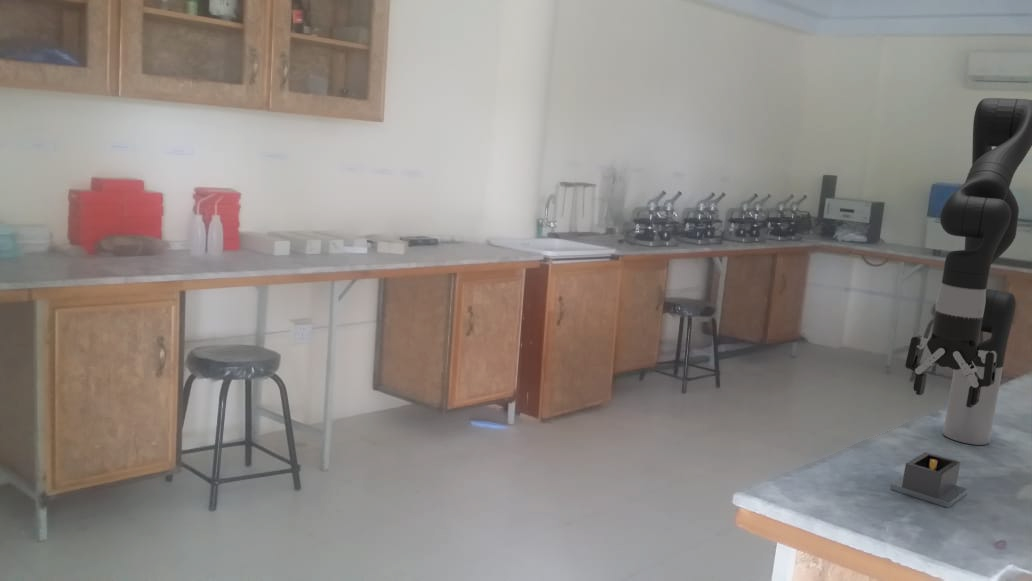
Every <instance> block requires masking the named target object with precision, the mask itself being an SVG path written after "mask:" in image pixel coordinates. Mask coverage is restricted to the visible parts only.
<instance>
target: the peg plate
mask: <svg viewBox="0 0 1032 581" xmlns="http://www.w3.org/2000/svg"><path fill="white" fill-rule="evenodd" d="M936 467H937V460H935V459H930V464H929V469H932V470H935V471H936ZM903 477H904V475H902V477H900V478H898V479H897V480H895V481H894V482H892V483H891V484H890V488H889V489H890V490H891V491H895V492H898V493H901V494H904V495H907V496H910V497H913V498H917V499H920V500H923V501H926V502H929V503H932V504H935V505H938V506H942V507H944V508H947V509H949V508H950V507H952V505H954V504H955V503H957V502H958V501H960V500H961V499H963V497H965V496H966V495H967V493H968V488H966V487H962V486H959V485H956V486H955V487H954V488H952V489H951V490H949V491H948V492H947V493H945V494H944V495H943V496H941V497H940V498H938V499H937V498H934V497H930V496H927V495H924V494H921V493H918V492H915V491H912V490H908V489H905V488H902V483H903Z"/></svg>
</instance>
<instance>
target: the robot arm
mask: <svg viewBox="0 0 1032 581" xmlns="http://www.w3.org/2000/svg"><path fill="white" fill-rule="evenodd" d="M973 116H974V117H973V122H972V123H973V125H972V151H971V152H972V153H971V154H972V156H971V158H972V160H971V167H970V170H969V172H968V174H967V176H966V179H965V182H964V183H963V184H962V185H961V186H960V187H959V188H958V189H957V190H956V191H954V192H953V193H952V194H951V195H950V196H949V198H947V200H946V201H945V203H944V204H943V206H942V209H941V212H940V218H939V221H940V225H941V228H942V229H943V231H944V232H946V233H947V234H949V235H951V236H955V237H962V238H964V240H965V241H964V249H963V250H961V249H960V250H952V251H950V252H948V253H947V255H946V257H945V261H944V265H943V266H944V267H943V274H942V277H941V278H942V279H941V283H940V284H941V285H940V288H939V291H938V294H937V297H936V298H937V299H936V302H935V310H934V317H933V322H932V323H933V324H932V327H931V328H932V329H931V335H930V338H925V337H923V336H921V335H914V336H912V337H911V338H910V343H909V347H908V351H907V352H908V353H907V356H906V361H905V363H904V366H905V368H906V369H908V370H911V371H913V372H914V373H915V377H914V381H913V382H914V383H913V391H914V392H915V394H916V395H917V396H922V395H924V393H925V388H926V383H927V382H926V381H927V377H928V374H927V373H926V372H927V371H929V370H930V369H931V368H932V367H933V366H935V365H936V364H937V365H938V366H939V367H942V368H949V369H951V370H953V373H952V378H951V385H950V389H949V390H950V391H949V396H948V402H947V408H946V413H945V420H944V425H943V431H942V434H943V435H944V436H945V437H947V438H948V439H951V440H953V441H956V442H959V443H965V444H968V445H969V444H970V445H977V446H978V445H979V446H985V445H988V444H989V443H990V440H991V434H992V429H993V424H994V419H995V412H996V408H997V402H998V398H999V397H998V396H999V391H1000V386H1001V385H1000V384H1001V380H1002V374H1003V368H1004V363H1005V359H1006V358H1005V357H1006V352H1007V347H1008V346H1007V345H1008V340H1009V337H1010V331H1011V328H1012V324H1013V320H1014V316H1015V312H1016V305H1017V303H1016V297H1015V295H1014V294H1013V293H1012V292H1008V291H1006V290H1004V291H1003V290H997V289H990V288H988V280H989V274H990V270H991V265H992V264H993V263H995V261H996V260H998V259H999V258H1000V257H1001V256H1002V255H1003V254H1004V253H1005V252H1006V251H1007V250H1008V249H1009V247H1010V246H1011V245H1012V243H1014V241H1015V239H1016V236H1017V227H1018V220H1019V212H1020V211H1019V204H1018V202H1017V199H1016V197H1015V195H1014V194H1013V191H1012V190H1011V189H1010V188H1011V183H1012V180H1013V178H1014V175H1015V173H1016V171H1017V170H1018V167H1020V165H1021V163H1022V162H1023V161H1024V160H1025V158H1026V156H1027V155H1028V153H1029V151H1030V150H1031V148H1032V99H1028V98H1003V97H1002V98H1001V97H998V98H997V97H987V98H982V99H981V100H980V101H979V102H978V103H977V105H976V107H975V112H974V115H973ZM993 147H994V148H993ZM981 332H983V333H988V334H991V336H990V337H989V338H988V339H987V340H984V341H981V342H980V336H981ZM925 346H927V349H928V350H929V352H930V355H929V357H927V358H926V359H925V360H924V361H923V362H922V363H921V364H920V363H918V361H919V358H920V357H919V356H920V353H921V350H923V349H924V348H925Z"/></svg>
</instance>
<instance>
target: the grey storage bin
mask: <svg viewBox="0 0 1032 581" xmlns="http://www.w3.org/2000/svg"><path fill="white" fill-rule="evenodd" d="M930 459H935V460H937V467H936V471H935V470H932V469H929V464H930ZM904 466H905V467H904V470H903V471H904V472H903V476H904V477H903V476H902V477H903V483H902V488H905V489H908V490H912V491H915V492H918V493H921V494H924V495H927V496H930V497H934V498H937V499H938V498H940V497H941V496H943V495H944V494H945V493H947V492H948V491H949V490H951V489H952V488H954V487H955V486H957V485H958V484H957V483H958V477H959V471H960V466H961V462H960V461H958V460H956V459H955V460H954V459H951V458H947V457H943V456H940V455H937V454H934V453H929V452H926V451H925V452H922V453H921V454H920V455H918V456H916V457H915V458H913V459H911V460H909V461H907V462H906V463H905V464H904Z"/></svg>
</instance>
